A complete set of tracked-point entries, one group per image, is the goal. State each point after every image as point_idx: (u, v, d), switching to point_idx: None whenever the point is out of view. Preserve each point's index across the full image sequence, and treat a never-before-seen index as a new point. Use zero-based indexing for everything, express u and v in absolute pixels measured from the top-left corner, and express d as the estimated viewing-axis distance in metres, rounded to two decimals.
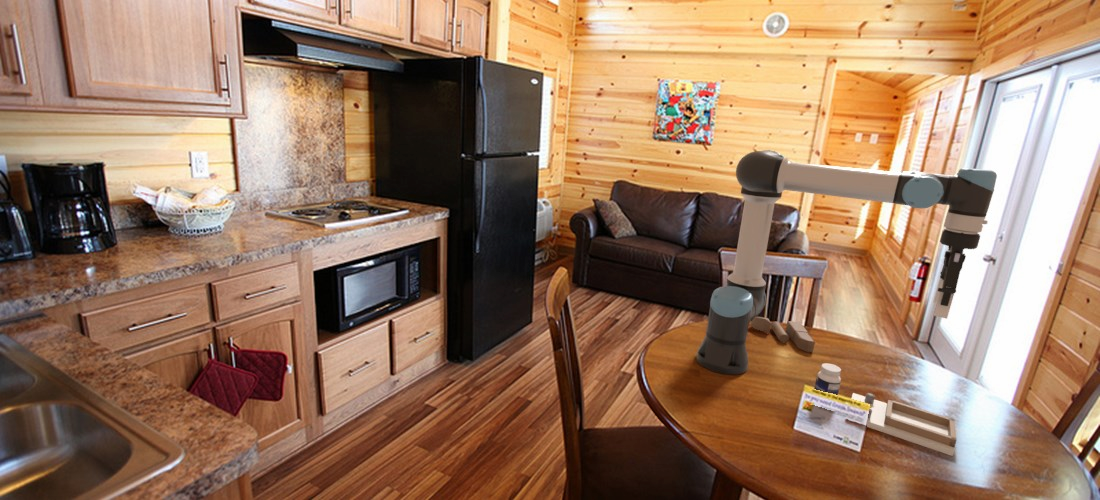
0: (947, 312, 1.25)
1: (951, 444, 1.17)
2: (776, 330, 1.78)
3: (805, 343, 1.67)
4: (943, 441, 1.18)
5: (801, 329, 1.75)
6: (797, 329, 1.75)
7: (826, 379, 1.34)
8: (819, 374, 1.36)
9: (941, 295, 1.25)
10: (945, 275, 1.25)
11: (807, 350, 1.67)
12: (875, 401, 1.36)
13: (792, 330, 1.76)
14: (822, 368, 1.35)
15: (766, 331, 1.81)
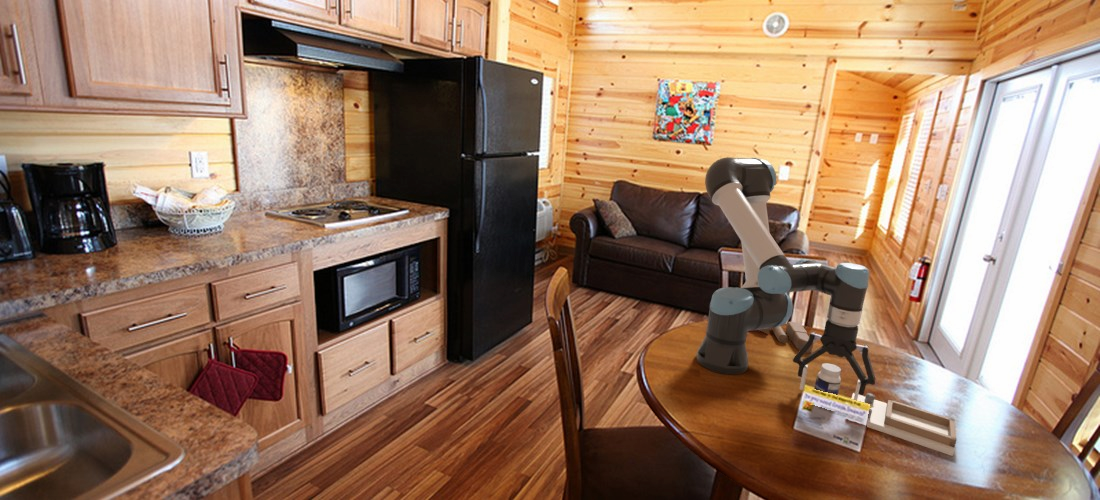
0: None
1: (951, 444, 1.17)
2: (775, 330, 1.78)
3: (804, 344, 1.67)
4: (943, 441, 1.18)
5: (800, 330, 1.75)
6: (796, 329, 1.74)
7: (826, 379, 1.34)
8: (819, 374, 1.36)
9: None
10: None
11: None
12: (875, 401, 1.36)
13: (791, 330, 1.76)
14: (822, 368, 1.35)
15: (765, 331, 1.80)
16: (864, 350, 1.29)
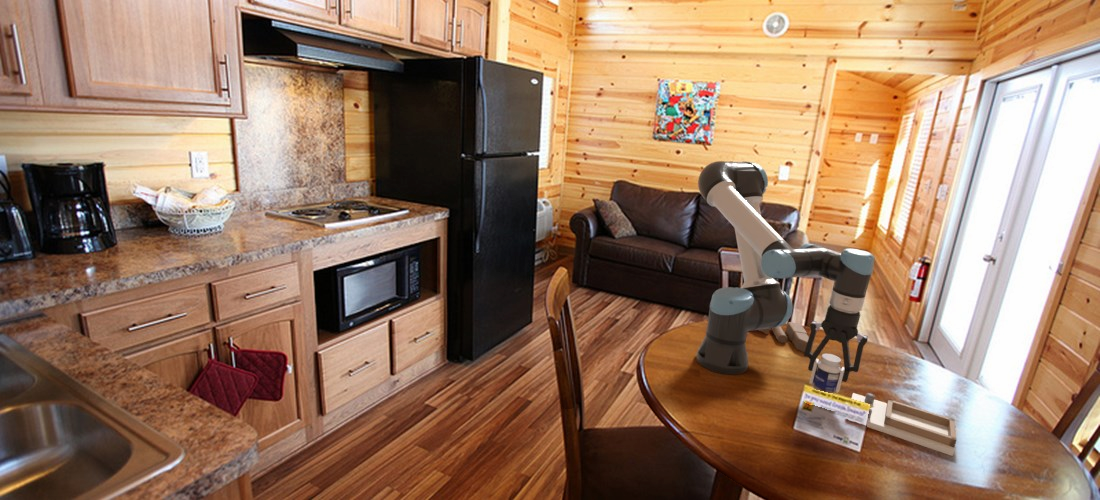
0: None
1: (951, 444, 1.17)
2: (775, 330, 1.78)
3: (803, 344, 1.66)
4: (943, 441, 1.18)
5: (800, 330, 1.74)
6: (796, 330, 1.74)
7: (826, 369, 1.34)
8: (819, 364, 1.36)
9: None
10: (819, 344, 1.37)
11: None
12: (875, 401, 1.36)
13: (791, 330, 1.76)
14: (822, 358, 1.35)
15: (765, 331, 1.80)
16: (863, 340, 1.29)
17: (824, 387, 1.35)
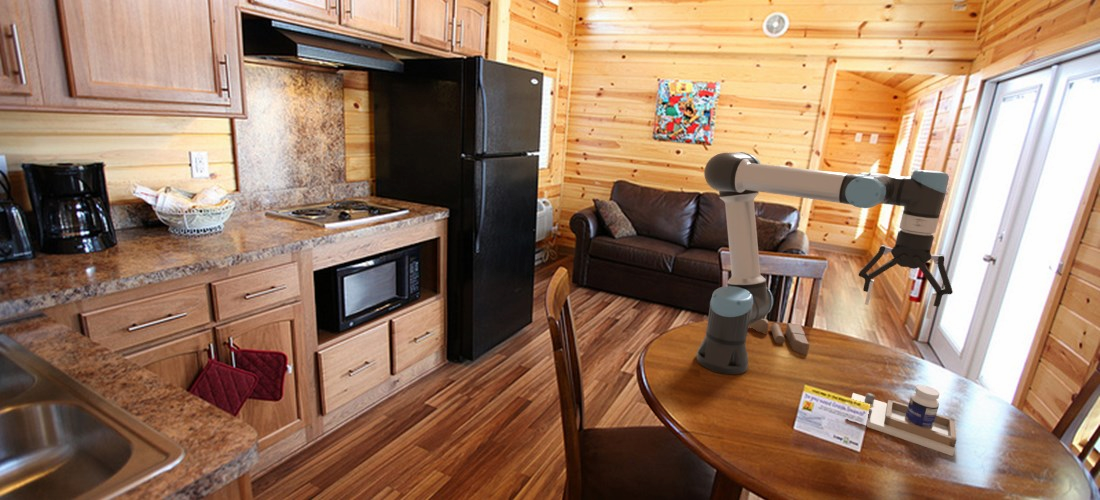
0: (866, 298, 1.35)
1: (951, 444, 1.17)
2: (773, 331, 1.77)
3: (799, 345, 1.65)
4: (943, 441, 1.18)
5: (799, 331, 1.73)
6: (794, 331, 1.73)
7: (923, 402, 1.22)
8: (914, 397, 1.24)
9: None
10: None
11: (801, 352, 1.65)
12: (875, 401, 1.36)
13: (789, 331, 1.75)
14: (918, 391, 1.23)
15: (764, 332, 1.80)
16: (940, 259, 1.24)
17: (921, 423, 1.23)
